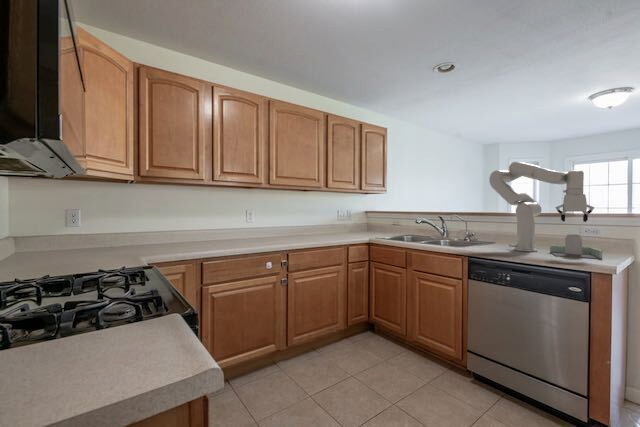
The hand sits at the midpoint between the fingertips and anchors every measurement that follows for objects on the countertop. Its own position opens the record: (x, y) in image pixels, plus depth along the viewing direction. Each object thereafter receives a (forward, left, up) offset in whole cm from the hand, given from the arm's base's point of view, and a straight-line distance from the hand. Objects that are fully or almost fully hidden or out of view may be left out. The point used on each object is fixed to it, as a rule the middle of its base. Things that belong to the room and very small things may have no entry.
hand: (574, 221), depth 172 cm
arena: (+1, +1, -20) cm, 20 cm away
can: (0, 0, -20) cm, 20 cm away
